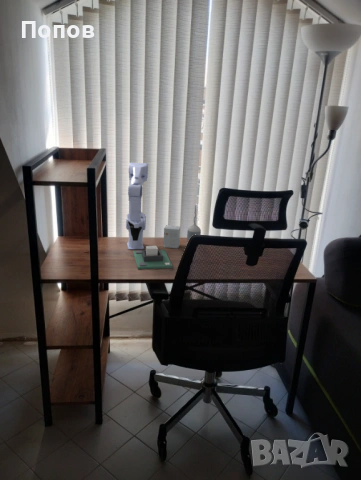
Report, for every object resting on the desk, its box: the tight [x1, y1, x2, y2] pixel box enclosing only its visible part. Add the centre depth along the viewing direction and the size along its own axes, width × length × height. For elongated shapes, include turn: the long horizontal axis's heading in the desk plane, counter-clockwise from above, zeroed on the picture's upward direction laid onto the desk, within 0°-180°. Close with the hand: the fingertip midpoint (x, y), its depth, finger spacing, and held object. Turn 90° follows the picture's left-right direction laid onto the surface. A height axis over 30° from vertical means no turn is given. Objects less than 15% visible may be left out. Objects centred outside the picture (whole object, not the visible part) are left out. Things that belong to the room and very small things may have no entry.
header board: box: [132, 249, 174, 270], centre depth 188 cm, size 20×16×4 cm
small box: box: [162, 225, 181, 249], centre depth 206 cm, size 8×6×10 cm
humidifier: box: [185, 204, 202, 247], centre depth 197 cm, size 8×8×25 cm
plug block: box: [145, 245, 159, 256], centre depth 188 cm, size 4×5×6 cm
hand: (134, 237), depth 189 cm, fingers open, 7 cm apart
